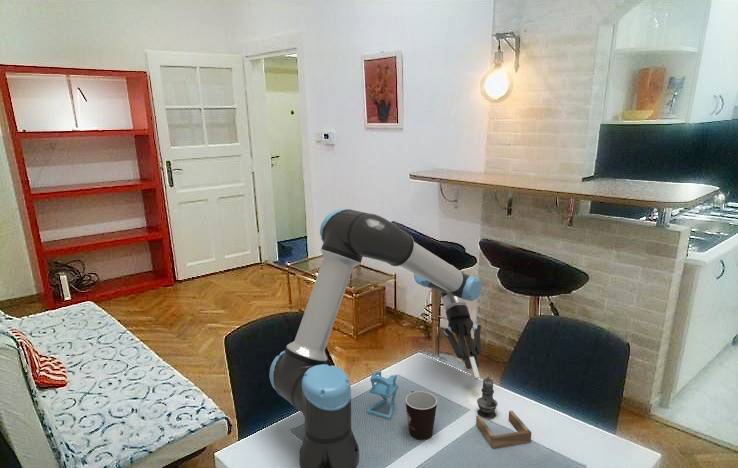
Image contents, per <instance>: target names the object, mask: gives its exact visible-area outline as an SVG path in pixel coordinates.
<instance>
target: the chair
mask: <svg viewBox="0 0 738 468" xmlns="http://www.w3.org/2000/svg"><path fill="white" fill-rule="evenodd" d="M397 377H398V374H394V375H393V374H392V375H389V377H387V378H386V377H383V376H382V370H378V371H374V372H373V373H372V374H371V376H370V378H369V379H370V383H371V388H370V389H369V394H372V395H376V396H381V398H382V400H380V401H379V402H377V403H375V404H374V405H372V406H370V407H369V408H367V409H366V413H367V414H369V415H372V416H376V417H378V418H382V419H384V420H389V421H390V420H392V416H393V411H394V406H395V403H396V402H395V401H396V396H397V392H398V389H399V384H396V382H397ZM390 398H391V400H390V405H389V412H388V414H384V413H382V412H381V413H380V412H378V411H375V410H376V409H378V408H380V407H382V406H384V405H385V404H386V403H388V399H390Z"/></svg>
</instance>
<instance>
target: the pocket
mask: <svg viewBox="0 0 738 468" xmlns="http://www.w3.org/2000/svg"><path fill="white" fill-rule="evenodd" d="M508 422H509V423H510V424H511V425H512V426H513V428H514V429H515V430H516V432H510V433H502V434H494V433H493V431H492V430H491V428H490V427H489V426H488V425H487V423H486V422H485V420H484V418H482V417H480V415H475V426H476V428H477V430H478V431H479V432H480V433H481V434H482V436H483V437H484V439H485V440H486V442H487V444H488V445H489V446H490V447H491V448H492V449H493V450H494V449H498V448H499V449H500V448H505V447H512V446H518V445H524V444H529V443H531V442H532V432H531V430H530V429H529V428H528V426H526V424H525V423H524V421H522V420H521V419H520V417H518V415H517V414H516V413H515V412H514V410H509V411H508Z"/></svg>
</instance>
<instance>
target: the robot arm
mask: <svg viewBox="0 0 738 468" xmlns="http://www.w3.org/2000/svg"><path fill="white" fill-rule="evenodd" d="M319 235H320V240H321V241H322V246H321V247H320V248H321V249H320V252H321V253H322V256H323V259H322V262H321V265H320V267H319V271H318V274H317V276H316V280H315V282H314V285H313V288H312V289H311V294H310V296H309V300H308V301H307V304H306V307H305V311H304V313H303V315H302V319H301V321H300V325H299V327H298V329H297V333H296V335H295V338H294V341H292V342H290V343H288V344H287V345H286V347H285V350H283V351H281V352H280V353H279V355H276V356H275V358H274V359H273V361H272V362H271V365H270V368H269V380H270V384H271V386H272V388H273V389H274V390H275V391H276V393H277V394H278V395H279V396H280V398H283V399H285V400H286V401H287V402H288V403H290V404H291V405H292V406H293V408H294V407H295V408H296V409H297V410H298V411H299V412H301V414H302V415H303V419H304V422H303V423H304V437H303V440H302V443H301V445H300V449H299V453H298V455H299V456H298V457H299V458H298V459H299V461H298V462H299V467H300V468H356V467H357V466H358V464H359V461H360V449H359V444H358V442H357V439H356V438H355V435H354V432H353V430H352V429H353V428H352V389H351V387H352V386H351V382H350V377H349V375H348V374H347V372H346V371H344V369H342V368H340V367H339V366H336V365H334V364H332V365H329V364H328V363H327V362H328V356H327V354H326V347H327V344H328V341H329V339H330V336H331V332H332V330H333V327H334V324H335V321H336V318H337V315H338V313H339V310H340V307H341V303H342V301H343V298H344V296H345V293H346V290H347V287H348V284H349V281H350V278H351V276H352V272H353V269H354V268H355V267H357V266H359V265H361V264H362V263H361V262H362V260H363V258H366V259H367V258H368V259H372V260H375V261H376V260H377V261H380V262H383V263H386V264H388V265H391V266H392V267H402V268H403V269H406V270H407V271H409V272H410V273H413V279H414V281H415V282H416V283H417V284H418V285H420V286H422V287H424V288H428V289H432V290H435V291H438V292H439V293H440V297H441V300H442V304H443V307H444V310H445V316H446V319H447V322H448V324H447V325H448V326H447V327H446V328H445V329H444V330H443V331H442V334H443V335H444V336H445V337H446V338H447V339H448V341H449V343H450V346H451V348H452V349H453V352H454V353H455V356H456V357H457V358H458V359H462V360H463V361H464V364H465V367H466V369H467V370H469V372H470V376H471V379H472V381H475V380H478V379H479V378H480V377H481V376H480V373H479V370H478V368H479V367H480V363H479V361H478V357H479V356H480V355H481V354H482V344H481V343H482V342H481V329H482V325H481V324H476V323H474V321H473V320H472V318H471V314H470V311H469V307H468V306H467V301H470V302H473V301H476V300H477V299H478V298H479V297H480V295H481V292H482V289H483V288H482V287H483V286H482V282H481V280H480V278H478V277H475V276H473V275H470V274H467V273H465V272H464V271H461V270H459V269H458V268H457V267H455V266H454V265H453V264H450V263H448V262H447V261H445V260H444V259H442V258H440V257H439V256H438V255H436V254H434V253H432V252H431V251H429V250H428V249H426V248H425V247H423V246H421V245H420V244H419V243H417V242H416V241H414V240H415V239H414V238H413V236H412V235H411V234H410V233H408V232H406V231H405V230H403V229H402V228H400V227H399V226H398V225H396V224H394V223H393V222H391V221H389V220H388V219H386V218H384V217H383V216H380V215H378V214H374V213H370V212H364V211H359V210H355V209H349V208H345V209H343V208H340V209H335V210H333V211H331V212H330V213H328V214H327V215H326V216H325V217H324V219H323V220H322V222H321V224H320V228H319ZM472 330H473V338H472ZM453 333H454V334H455V335H456V338H455V336H454V334H453ZM456 339H457V340H458V341H457V340H456ZM473 340H474V341H473Z"/></svg>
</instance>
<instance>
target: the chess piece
mask: <svg viewBox="0 0 738 468" xmlns="http://www.w3.org/2000/svg"><path fill="white" fill-rule="evenodd" d="M480 391H481V392H482V395H481V397H479V398H478V399H477V400H476V404H477V406H478V408H479V409H478V410H477V416H479V415H480V417H481V418H482V419H486V420H492V419H495V418H496V417H497V413H496V409H497V407H498V405H499V404H498V402H497V400H496V399H494V393H495V390H494V380H493V379H491V378H490V376H487V377H486V378H484V379H483V381H482V388H481V390H480Z"/></svg>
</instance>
